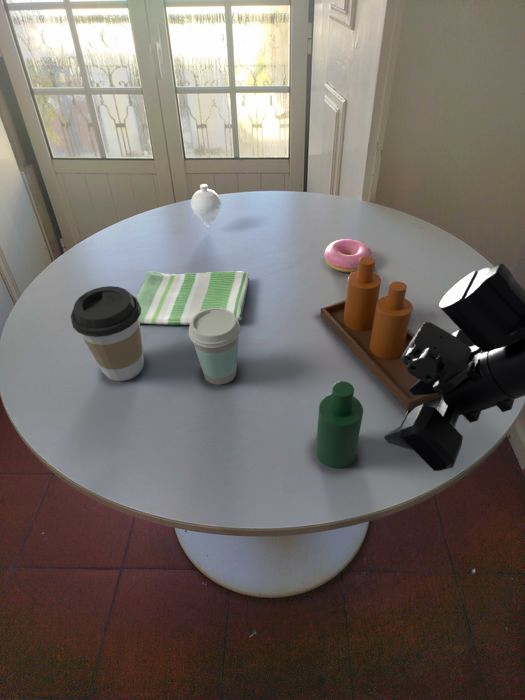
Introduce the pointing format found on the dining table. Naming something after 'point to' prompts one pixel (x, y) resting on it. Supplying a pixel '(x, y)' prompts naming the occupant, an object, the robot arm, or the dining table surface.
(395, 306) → the amber bottle
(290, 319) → the dining table surface
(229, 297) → the dish towel
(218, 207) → the spinning top
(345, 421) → the green bottle
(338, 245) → the doughnut
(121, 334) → the coffee cup
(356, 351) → the tray
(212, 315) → the coffee cup
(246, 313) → the dining table surface
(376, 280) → the amber bottle
